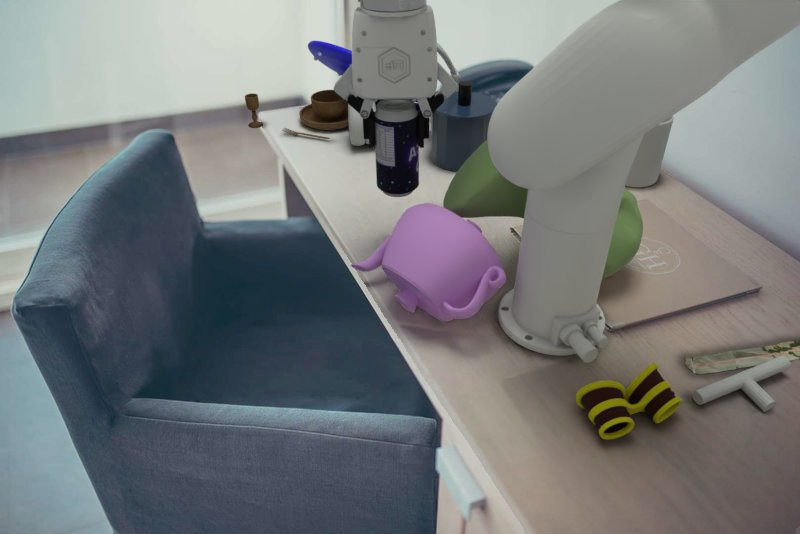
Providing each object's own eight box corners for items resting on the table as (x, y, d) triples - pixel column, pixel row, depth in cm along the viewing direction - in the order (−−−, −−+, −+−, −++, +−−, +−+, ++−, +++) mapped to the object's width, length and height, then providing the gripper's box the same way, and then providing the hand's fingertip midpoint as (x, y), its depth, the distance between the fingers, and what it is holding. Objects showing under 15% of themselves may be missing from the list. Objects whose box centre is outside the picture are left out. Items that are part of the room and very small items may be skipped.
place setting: (339, 142, 117) (336, 111, 113) (244, 128, 123) (239, 98, 119) (375, 107, 130) (374, 79, 127) (288, 96, 136) (284, 69, 132)
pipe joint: (690, 396, 68) (721, 430, 65) (694, 388, 67) (726, 422, 64) (776, 361, 71) (809, 392, 68) (782, 353, 70) (815, 383, 67)
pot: (501, 165, 110) (506, 113, 105) (446, 176, 107) (449, 123, 102) (473, 141, 118) (477, 91, 112) (421, 150, 115) (423, 99, 109)
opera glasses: (596, 450, 63) (612, 425, 60) (568, 406, 67) (582, 379, 63) (675, 422, 66) (695, 396, 63) (644, 380, 69) (661, 353, 66)
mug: (639, 161, 112) (654, 100, 105) (667, 184, 105) (685, 121, 99) (576, 169, 109) (588, 107, 103) (601, 193, 103) (615, 129, 96)
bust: (450, 144, 87) (584, 239, 94) (429, 222, 77) (581, 321, 84) (521, 75, 77) (664, 187, 84) (507, 154, 67) (671, 274, 74)
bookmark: (680, 360, 73) (682, 356, 72) (844, 334, 76) (846, 331, 76) (694, 377, 70) (696, 374, 70) (862, 350, 74) (864, 346, 73)
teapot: (502, 222, 67) (429, 306, 65) (538, 292, 76) (475, 368, 74) (385, 171, 81) (322, 239, 78) (428, 235, 90) (373, 297, 88)
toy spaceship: (288, 36, 127) (275, 70, 128) (349, 43, 107) (334, 83, 108) (384, 89, 142) (371, 119, 143) (452, 103, 123) (438, 138, 124)
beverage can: (414, 201, 84) (414, 114, 78) (372, 198, 85) (368, 112, 78) (422, 181, 89) (422, 97, 82) (382, 178, 90) (379, 95, 83)
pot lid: (509, 117, 105) (511, 90, 102) (447, 127, 102) (449, 99, 99) (478, 93, 113) (480, 68, 110) (420, 102, 110) (421, 76, 107)
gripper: (313, 5, 70) (327, 156, 80) (471, 2, 70) (465, 155, 80) (322, -11, 76) (333, 132, 87) (467, -13, 76) (461, 131, 86)
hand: (396, 142), depth 83 cm, fingers closed on beverage can, 5 cm apart
